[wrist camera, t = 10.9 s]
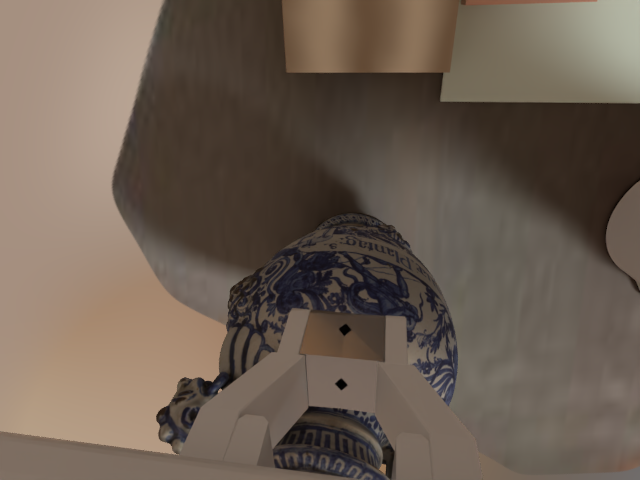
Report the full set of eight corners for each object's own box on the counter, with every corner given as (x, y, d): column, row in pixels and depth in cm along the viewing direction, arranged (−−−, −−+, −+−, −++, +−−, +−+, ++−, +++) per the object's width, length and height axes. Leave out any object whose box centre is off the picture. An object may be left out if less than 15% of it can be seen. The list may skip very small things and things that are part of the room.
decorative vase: (488, 241, 43) (592, 546, 20) (387, 341, 53) (379, 623, 30) (312, 135, 40) (194, 349, 17) (240, 262, 50) (103, 507, 27)
